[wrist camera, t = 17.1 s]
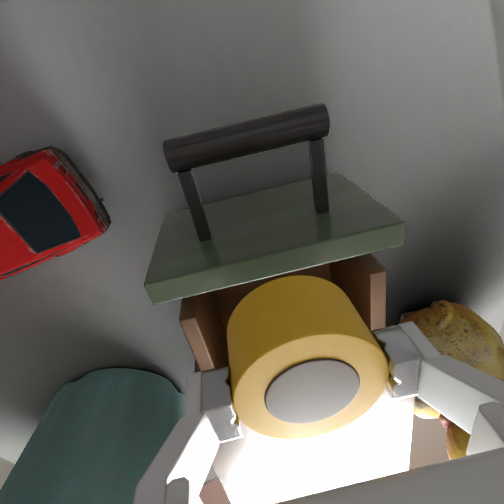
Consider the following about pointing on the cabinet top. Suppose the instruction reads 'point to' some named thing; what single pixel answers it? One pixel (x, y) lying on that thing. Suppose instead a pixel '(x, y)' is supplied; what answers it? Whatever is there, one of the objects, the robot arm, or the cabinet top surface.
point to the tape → (302, 359)
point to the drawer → (266, 232)
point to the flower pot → (96, 440)
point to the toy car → (45, 209)
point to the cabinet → (316, 456)
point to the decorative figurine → (457, 355)
